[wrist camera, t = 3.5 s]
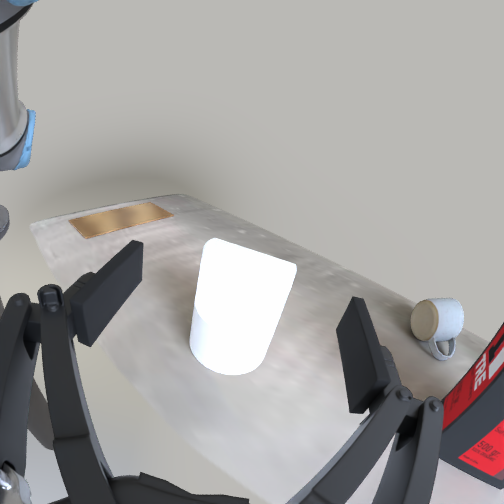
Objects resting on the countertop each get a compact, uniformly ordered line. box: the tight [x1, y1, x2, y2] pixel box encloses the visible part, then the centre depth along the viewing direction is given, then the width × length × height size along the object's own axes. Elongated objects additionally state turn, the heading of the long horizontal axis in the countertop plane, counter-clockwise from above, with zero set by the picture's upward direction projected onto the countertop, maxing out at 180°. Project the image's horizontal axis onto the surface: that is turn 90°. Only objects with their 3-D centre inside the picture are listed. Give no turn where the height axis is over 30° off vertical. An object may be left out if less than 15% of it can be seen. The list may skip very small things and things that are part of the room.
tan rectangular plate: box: [69, 202, 174, 239], centre depth 55 cm, size 22×9×1 cm, turn 146°
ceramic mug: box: [410, 298, 464, 360], centre depth 38 cm, size 11×8×8 cm
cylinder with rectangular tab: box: [190, 238, 297, 375], centre depth 29 cm, size 9×9×12 cm
